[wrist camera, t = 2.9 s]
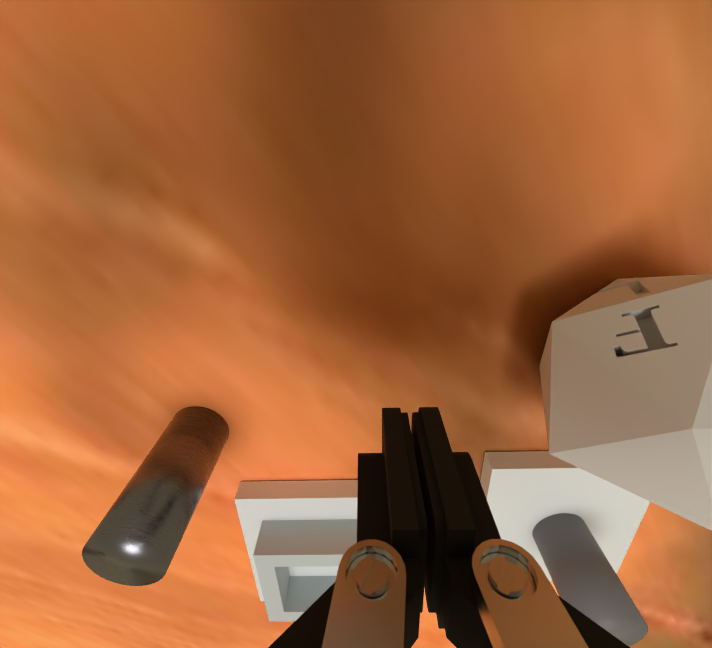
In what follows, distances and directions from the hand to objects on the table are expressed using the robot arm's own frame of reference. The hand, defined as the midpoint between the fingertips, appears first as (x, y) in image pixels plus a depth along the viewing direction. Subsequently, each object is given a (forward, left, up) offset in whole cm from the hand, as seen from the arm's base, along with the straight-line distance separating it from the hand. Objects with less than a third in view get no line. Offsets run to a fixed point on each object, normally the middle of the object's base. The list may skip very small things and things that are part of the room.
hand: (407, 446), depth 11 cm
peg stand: (+12, +10, -7) cm, 17 cm away
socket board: (+14, -4, -7) cm, 16 cm away
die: (0, +10, -7) cm, 12 cm away
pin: (+5, -10, -7) cm, 13 cm away
